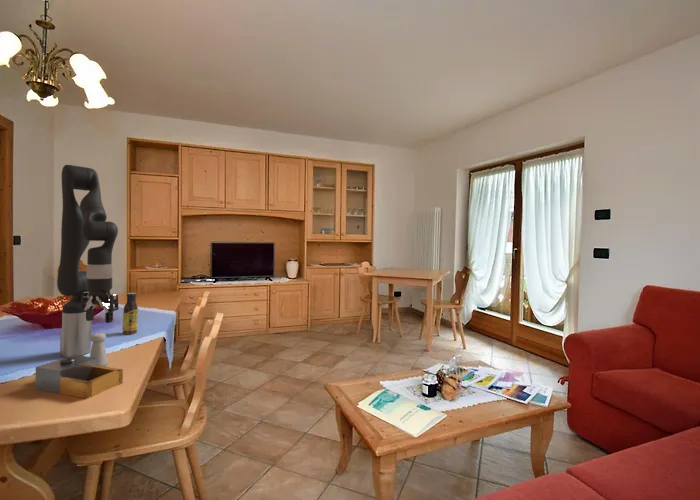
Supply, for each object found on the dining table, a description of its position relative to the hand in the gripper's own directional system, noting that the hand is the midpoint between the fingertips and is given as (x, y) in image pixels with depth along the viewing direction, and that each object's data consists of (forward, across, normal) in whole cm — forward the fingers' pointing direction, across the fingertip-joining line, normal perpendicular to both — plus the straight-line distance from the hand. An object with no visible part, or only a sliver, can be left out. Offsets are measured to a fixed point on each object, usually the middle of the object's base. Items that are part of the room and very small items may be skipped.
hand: (99, 321), depth 123 cm
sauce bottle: (+18, -28, +40) cm, 52 cm away
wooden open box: (+18, +6, -12) cm, 22 cm away
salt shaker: (+18, 0, 0) cm, 18 cm away
